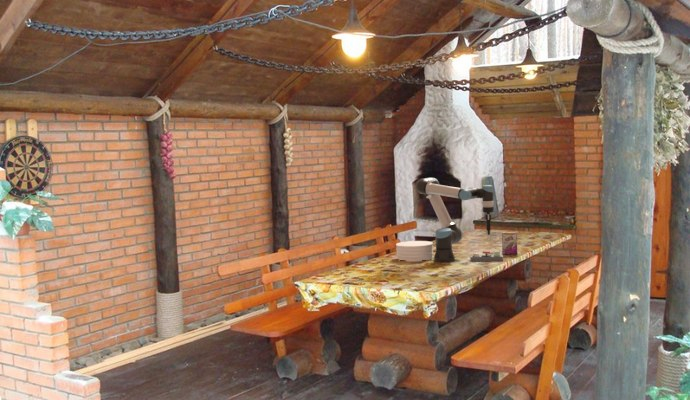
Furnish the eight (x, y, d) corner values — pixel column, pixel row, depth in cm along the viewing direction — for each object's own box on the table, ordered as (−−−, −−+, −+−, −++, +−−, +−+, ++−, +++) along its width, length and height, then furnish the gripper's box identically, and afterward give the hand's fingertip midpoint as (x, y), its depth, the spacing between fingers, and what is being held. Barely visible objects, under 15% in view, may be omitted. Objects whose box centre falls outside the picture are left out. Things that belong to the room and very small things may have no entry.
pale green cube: (494, 257, 489) (494, 251, 489) (494, 256, 492) (494, 250, 492) (499, 256, 488) (499, 251, 488) (499, 256, 492) (499, 250, 491)
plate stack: (432, 261, 499) (431, 246, 498) (394, 261, 505) (393, 246, 504) (434, 255, 526) (434, 240, 526) (399, 255, 532) (398, 241, 531)
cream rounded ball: (473, 259, 492) (473, 253, 492) (473, 258, 496) (473, 253, 495) (478, 259, 491) (478, 253, 491) (478, 258, 495) (478, 252, 495)
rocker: (482, 254, 490) (482, 251, 490) (482, 253, 494) (482, 250, 494) (490, 254, 489) (490, 251, 489) (490, 253, 493) (490, 250, 493)
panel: (470, 261, 490) (470, 255, 490) (470, 259, 498) (470, 253, 498) (503, 260, 486) (502, 254, 485) (502, 258, 494) (502, 253, 493)
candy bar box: (502, 254, 514) (501, 232, 513) (502, 253, 519) (501, 231, 517) (517, 254, 511) (516, 232, 510) (517, 253, 516) (517, 231, 514)
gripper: (493, 207, 481) (494, 240, 483) (493, 205, 494) (494, 237, 496) (482, 207, 483) (483, 240, 485) (482, 205, 496) (483, 237, 498)
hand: (488, 238), depth 491 cm, fingers closed
